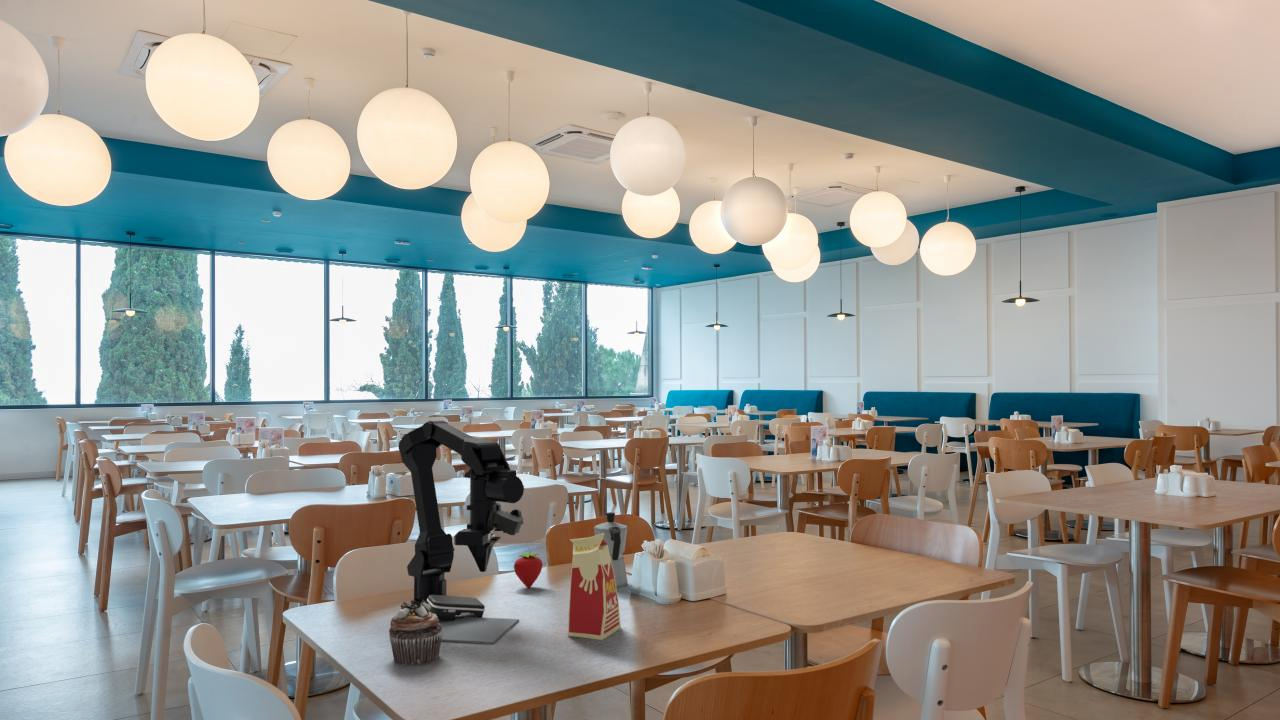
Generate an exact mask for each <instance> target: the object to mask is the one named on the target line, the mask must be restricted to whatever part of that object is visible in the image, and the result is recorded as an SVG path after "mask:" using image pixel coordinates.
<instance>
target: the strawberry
mask: <svg viewBox="0 0 1280 720" xmlns="http://www.w3.org/2000/svg"><path fill="white" fill-rule="evenodd" d="M527 548H528V550H529V551H530V553H527V552H525V553H524V554H521V555H519V558H518V559H516V560H515V561H514V564H513V569H514V572H515V575H516V576H517V577H518V579H519V580H520V582H522V584H523V585H524V586H525V587H526V588H531V587H533V584H534V583H535V582H536V580H537V579H538V577H539V576H540V575H541V573H542V570H543V565H544V564H543V561H542V560H541V559H542V558H540V557H539V555H540V554H539V553H532V551H531V549H530V548H529V546H527Z"/></svg>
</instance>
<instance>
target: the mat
mask: <svg viewBox="0 0 1280 720" xmlns="http://www.w3.org/2000/svg"><path fill="white" fill-rule="evenodd" d="M519 621H520V619H519V618H503V617H501V618H500V617H483V616H482V617H480V618H479V617H476V616H459V615H456V617H455V620H454V621H446V620H439V624H440V625H441V627H442V628H443V630H444V631H443V636H442V641H441V643H442V642H443V643H445V642H446V643H462V644H463V643H464V644H465V643H466V644H481V645H482V644H484V645H494V644H495V643H496V642H497V641H498V640H500V639H501V637H503V635H504V634H506V633H507V632H508V631H509V630H510V629H512V628H513V627H514V626H515V625H516V624H517V623H519Z"/></svg>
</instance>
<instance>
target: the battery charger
mask: <svg viewBox="0 0 1280 720" xmlns="http://www.w3.org/2000/svg"><path fill="white" fill-rule="evenodd" d="M427 601H428V604H429V605H430V606H431V609H430V611H429V612H431V613H434V614H436V616H437V617H438V619H439V620H446V621H454V620H455V617H456V616H459V615H462V614H472V615H474V617H479V618H480V617H483V616H484V611H485V607H486V606H485V605H484V604H483V603H482V602H481V601H480V600H479V599H478V598H477V597H471V596H470V597H468V596H457V595H447V596H445V595H429V596H428V598H427Z"/></svg>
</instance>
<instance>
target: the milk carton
mask: <svg viewBox="0 0 1280 720" xmlns="http://www.w3.org/2000/svg"><path fill="white" fill-rule="evenodd" d="M603 537H604V533H602V534H599V535H595V534H594V535H592V536H589V537H583V538H582V537H581V538H572V539H571V538H570V539H569V541H570V542H571V543H572V560H571V561H572V562H571V572H570V584H569V585H570V586H569V601H568V603H569V605H568V606H569V607H568V622H567V623H568V624H567V625H568V627H567V628H568V629H567V637H576V638H585V639H592V640H599V641H603V640H605V639H606V638H608V637H609V636H612V635H613V634H614V633H615V632H617V631H618V630H620V629H621V628H622V627H621V616H620V614H621V613H620V602H619V597H618V590H617V587H616V582H615V576H614V570H613V566H612V562H611V557H610V553H609V549H608V544H607V543H606V542H605V541H604V540H603Z"/></svg>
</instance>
